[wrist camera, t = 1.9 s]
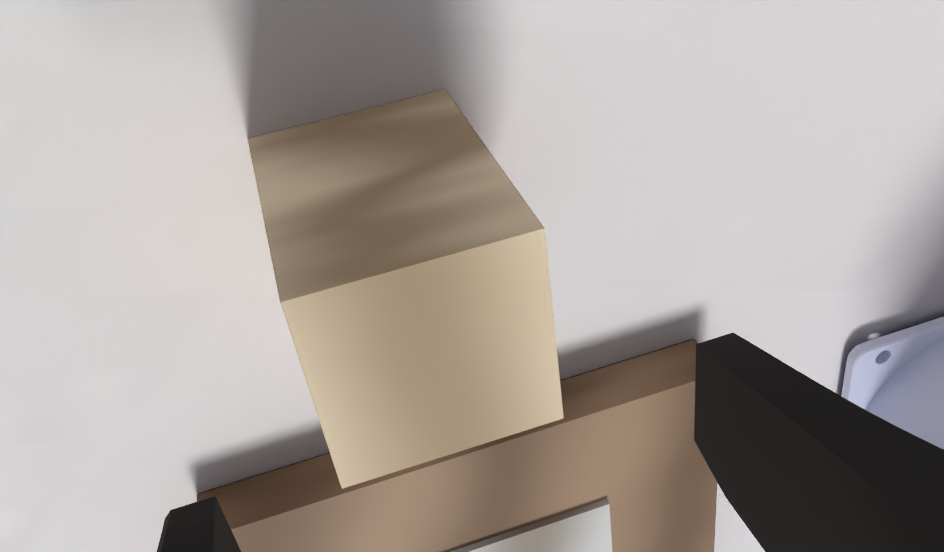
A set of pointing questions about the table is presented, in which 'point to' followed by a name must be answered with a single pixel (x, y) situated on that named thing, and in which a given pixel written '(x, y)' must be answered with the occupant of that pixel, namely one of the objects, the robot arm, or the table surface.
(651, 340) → the table surface
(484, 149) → the maple block
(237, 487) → the walnut base
